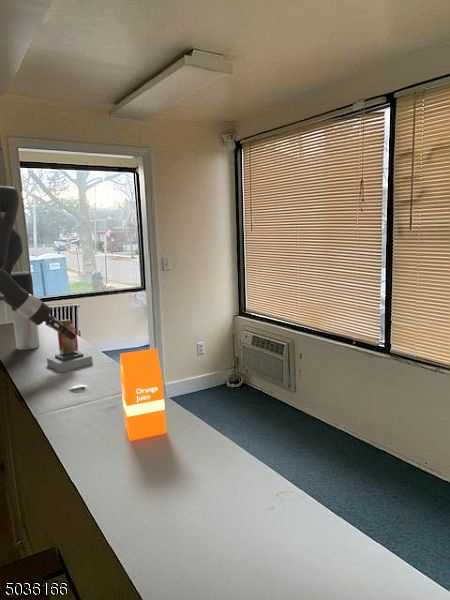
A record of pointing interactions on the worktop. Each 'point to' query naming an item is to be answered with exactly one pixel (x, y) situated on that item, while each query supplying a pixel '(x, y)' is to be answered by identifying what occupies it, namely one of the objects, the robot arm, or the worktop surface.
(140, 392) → the orange juice
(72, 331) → the soda can
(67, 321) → the dowel
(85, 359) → the socket
